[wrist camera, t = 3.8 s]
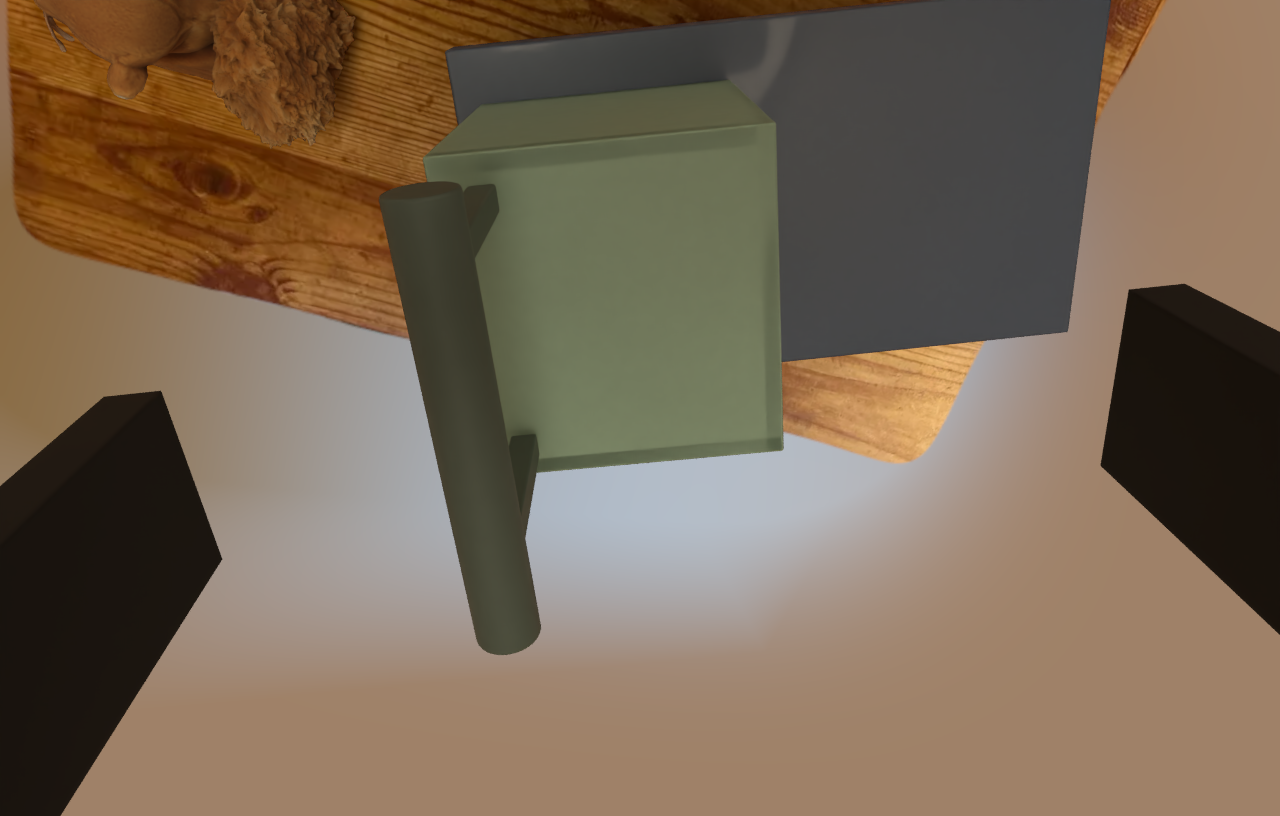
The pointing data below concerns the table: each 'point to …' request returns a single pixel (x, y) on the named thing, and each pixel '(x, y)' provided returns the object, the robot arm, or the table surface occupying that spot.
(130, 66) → the stuffed squirrel
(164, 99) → the table surface
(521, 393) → the basket
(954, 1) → the gray rectangular block
